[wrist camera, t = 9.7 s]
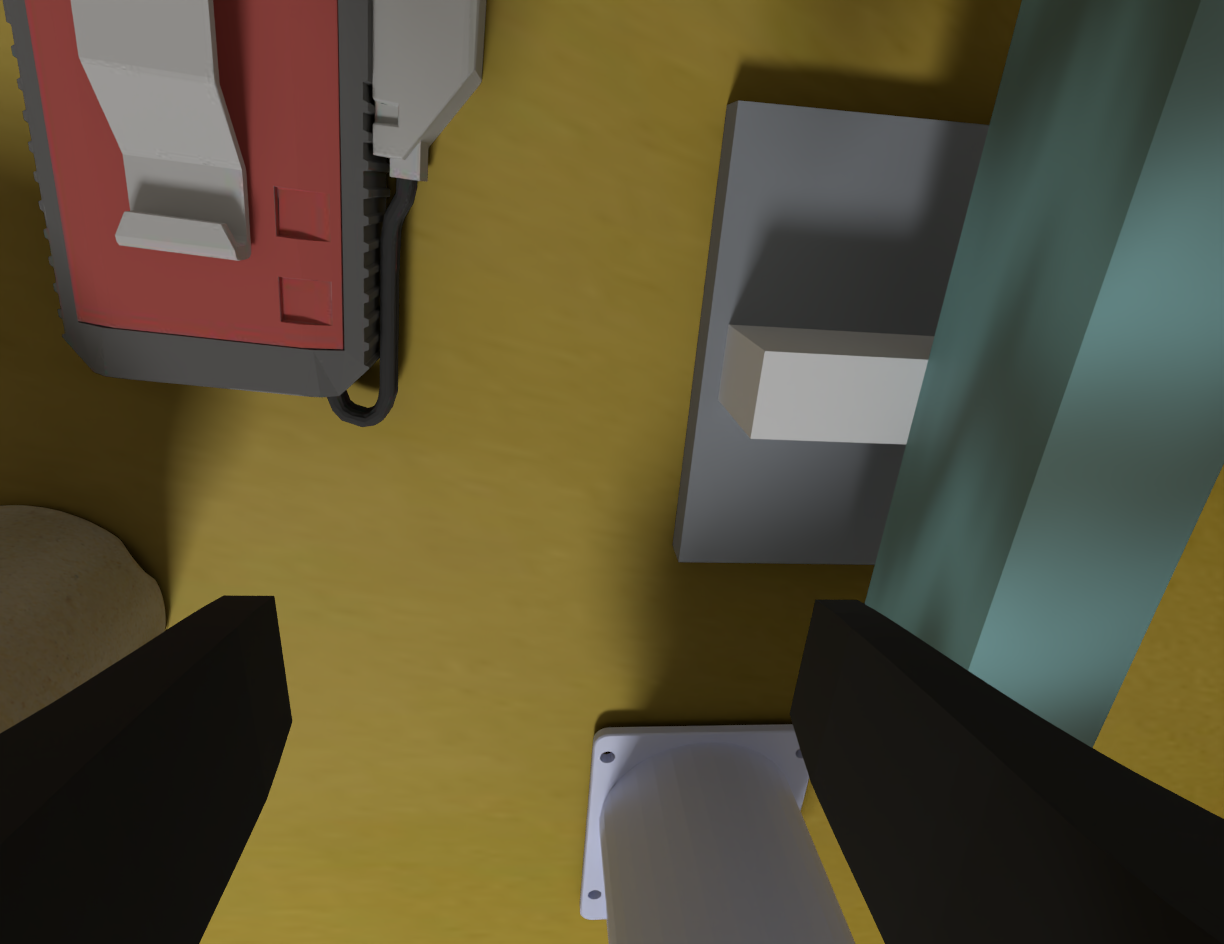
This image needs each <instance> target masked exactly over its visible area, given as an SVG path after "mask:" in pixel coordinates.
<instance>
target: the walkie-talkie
mask: <svg viewBox="0 0 1224 944" xmlns="http://www.w3.org/2000/svg"><path fill="white" fill-rule="evenodd" d="M3 4H4V10H5V16H6V21H7V22H8V23H10V24H11V26H12V32H13V38H14V43H15V44H14V45H12V46H11V49H12V54H13V56H14V57H16V58H17V60H18V66H19V71H20V78H18V79H17V82H18V88H19V89H21V90H22V91H23V95H24V101H25V106H26V110H24V111H23V116H24V120H25V121H27V122H28V123H29V129H30V134H31V140H32V141H30V142H28V145H29V150H30V151H31V152H32V153H34V158H35V164H36V169H37V171H35V172H33V173H34V179H35V181H37V182H38V183H39V186H40V192H41V198H42V200H41V201H38V202H39V207H40V210H42V211H43V212H44V215H45V220H46V226H47V228H46V229H44V235H45V238H47V239H48V240H49V244H50V250H51V255H52V256H50V257H48V258H49V263H50V265H51V266H53V267H54V272H55V278H56V283H54V284H53V286H54V291H55V292H57V293H58V295H59V301H60V307H61V309H58V314H59V317H60V318H62V319H63V324H64V330H65V334H62V337H63V338H64V339H65V341H66V342H67V343H68V344H69V345H70V346H71V347H72V348H73V350H74V351H75V352H76V353H77V354H78V355H79V356H80V357H81V358H82V360H83V361H84V362H85V363H86V364H87V365H88V366H89V367H90V368H91V370H92V371H93V372H95V373H98V374H101V375H103V376H107V377H115V378H123V379H133V380H143V381H154V382H164V383H174V384H185V385H195V386H205V387H215V388H226V389H236V390H246V391H257V392H267V393H277V394H287V395H298V396H309V397H327V399H328V401H329V403H330V406H331V408H332V410H333V411H334V413H335V414H336V415H337V416H338V417H339V418H340V419H341V420H342V421H345V422H348V423H351V424H354V425H357V426H360V427H366V426H373V425H376V424H378V423H379V422H381V421H382V420H384V418H385V417H386V416H387V414H388V413H389V411H390V410H391V408H392V407H393V404H394V401H395V398H396V395H397V392H398V339H399V269H400V247H401V230H402V225H403V222H404V219H405V216H406V215H407V213H408V211H409V210H410V208H411V206H412V205H413V203H414V199H415V194H416V190H417V181H427V178H428V148H429V147H430V145H431V144H432V143H433V142H434V140H435V139H436V138H437V137H438V135H439V134H440V133H441V132H442V131H443V129H444V128H445V127H446V126H447V124H448V123H449V122H450V121H451V119H452V118H453V117H454V116H455V114H456V113H457V112H458V111H459V110H460V108H461V107H462V106H463V105H464V103H465V102H466V101H467V100H468V98H469V97H470V96H471V95H472V94H473V92H474V91H475V90H476V89H477V87H478V86H479V85H480V83H481V82H482V66H483V49H484V32H485V16H486V0H3ZM386 158H390V164H388V163H386ZM389 172H390V177H396V178H397V182H396V193H395V195H394V197H393V199H392V201H391V202H390V204H389V206H388V208H387V210H386V197H390V189H389V188H387V187H386V173H389ZM379 358H380V389H379V396H378V400H377V402H376V404H375V405H374V406H373V407H370V408H366V407H363V406H360V405H357V404H355V403H353V402H352V401H351V400H350V398H349V395H348V393H347V389H348V388H349V387H350V386H351V385H352V384H353V383H354V382H355V381H356V380H357V379H359V378H360V377H361V376H362V375H363V374H364V373H365V372H366V371H367V370H368V369H369V368H370V367H371V366H372V365H373V364H374V363H375V362H376V361H377V360H378V359H379Z"/></svg>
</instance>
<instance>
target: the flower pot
mask: <svg viewBox="0 0 1224 944" xmlns="http://www.w3.org/2000/svg"><path fill="white" fill-rule="evenodd" d="M165 626H166V615H165V606H164V601H163V596H162V593H161V591H160V588H159V586H158V584H157V582H156V580H155V579H154V578H152V577H151V576H150V575H148V574H147V573H145V572H144V571H143V570H142V568H141V567H140V566H139V565H138V564H137V563H136V561H135V560H134V559H133V557H132V556H131V555H130V553H129V552H128V550H127V549H126V547H125V546H124V544H123V543H122V541H121V540H120V539H119V538H117V537H116V536H114V535H113V534H111V533H110V532H108V531H107V530H105V529H103V528H101V527H99V526H97V525H95V524H93V523H92V522H89V521H87V520H84V519H82V518H80V517H77V516H74V515H71V514H68V513H65V512H61V511H58V510H53V509H49V508H44V507H35V506H26V505H5V506H0V733H2V732H4V731H5V730H7V729H9V728H10V727H12V726H14V725H15V724H17V723H19V722H20V721H22V720H24V719H26V718H27V717H29V716H31V715H32V714H34V713H36V712H37V711H39V710H41V709H42V708H44V707H46V706H48V705H49V704H51V703H53V702H54V701H56V700H57V699H59V698H61V697H62V696H64V695H65V694H67V693H69V692H70V691H72V690H73V689H75V688H77V687H78V686H80V685H81V684H83V683H84V682H86V681H88V680H89V679H91V678H92V677H94V676H95V675H97V674H99V673H100V672H102V671H103V670H105V669H106V668H108V667H110V666H111V665H113V664H114V663H116V662H118V661H119V660H121V659H122V658H124V657H125V656H127V655H129V654H130V653H132V652H133V651H135V650H136V649H138V648H139V647H141V646H143V645H144V644H146V643H147V642H149V641H150V640H152V639H153V638H155V637H157V636H158V635H160V634H161V633H163V632H164V631H165Z"/></svg>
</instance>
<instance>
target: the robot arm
mask: <svg viewBox="0 0 1224 944" xmlns="http://www.w3.org/2000/svg"><path fill="white" fill-rule="evenodd" d="M790 717H791V720H792V724H780V725H719V726H659V727H608V728H603V729H601V730H599V731H598V732H597V733H596V734H595V735H594V738H593V748H592V760H591V773H590V785H589V797H588V809H587V821H586V833H585V846H584V858H583V870H582V882H581V894H580V913H581V915H582V916H583V917H584V918H586V919H590V920H596V919H607V929H608V941H609V944H855V942H854V939H853V937H852V934H851V932H850V930H849V927H848V925H847V922H846V920H845V918H844V915H843V913H842V910H841V908H840V906H839V903H838V901H837V898H836V896H835V894H834V891H833V889H832V886H831V884H830V882H829V879H828V877H827V874H826V872H825V870H824V867H823V865H822V862H821V860H820V857H819V855H818V853H817V850H816V848H815V845H814V843H813V841H812V838H811V836H810V833H809V831H808V829H807V826H806V824H805V821H804V819H803V817H802V814H801V812H800V811H801V807H802V803H803V800H804V796H805V792H806V788H807V784H808V780H809V778H810V781H811V783H812V786H813V788H814V790H815V793H816V795H817V797H818V799H819V802H820V804H821V806H822V808H823V810H824V813H825V815H826V817H827V819H828V821H829V824H830V826H831V828H832V830H833V832H834V835H835V837H836V839H837V841H838V843H839V845H840V848H841V850H842V852H843V854H844V856H845V858H846V861H847V863H848V865H849V867H850V869H851V871H852V873H853V876H854V878H855V880H856V882H857V884H858V886H859V888H860V891H861V893H862V895H863V897H864V899H865V901H866V903H867V906H868V908H869V910H870V912H871V914H872V916H873V919H874V921H875V923H876V925H877V927H878V929H879V931H880V934H881V936H882V938H883V940H884V942H885V944H1224V819H1223V818H1221V817H1219V816H1217V815H1215V814H1213V813H1211V812H1209V811H1207V810H1205V809H1203V808H1201V807H1200V806H1198V805H1196V804H1194V803H1192V802H1190V801H1188V800H1186V799H1184V798H1183V797H1181V796H1179V795H1177V794H1175V793H1173V792H1171V791H1169V790H1167V789H1166V788H1164V787H1162V786H1160V785H1158V784H1156V783H1154V782H1152V781H1150V780H1148V779H1147V778H1145V777H1143V776H1141V775H1139V774H1137V773H1135V772H1134V771H1132V770H1130V769H1128V768H1127V767H1125V766H1123V765H1121V764H1119V763H1118V762H1116V761H1114V760H1112V759H1110V758H1109V757H1107V756H1105V755H1103V754H1102V753H1100V752H1098V751H1097V750H1095V749H1093V748H1092V747H1090V746H1088V745H1087V744H1085V743H1083V742H1082V741H1080V740H1078V739H1076V738H1075V737H1073V736H1071V735H1070V734H1068V733H1066V732H1065V731H1063V730H1061V729H1060V728H1058V727H1056V726H1055V725H1053V724H1051V723H1050V722H1048V721H1046V720H1045V719H1043V718H1041V717H1040V716H1038V715H1037V714H1035V713H1033V712H1032V711H1030V710H1029V709H1027V708H1025V707H1024V706H1022V705H1021V704H1019V703H1017V702H1016V701H1014V700H1013V699H1011V698H1010V697H1008V696H1006V695H1005V694H1003V693H1002V692H1000V691H999V690H997V689H996V688H994V687H992V686H991V685H989V684H988V683H986V682H985V681H983V680H982V679H980V678H979V677H977V676H976V675H974V674H972V673H971V672H969V671H968V670H966V669H965V668H963V667H962V666H960V665H959V664H957V663H956V662H954V661H953V660H951V659H950V658H948V657H947V656H945V655H944V654H942V653H941V652H939V651H938V650H936V649H935V648H933V647H932V646H930V645H929V644H927V643H926V642H924V641H923V640H921V639H920V638H918V637H917V636H915V635H914V634H912V633H911V632H909V631H908V630H906V629H904V628H903V627H901V626H900V625H898V624H897V623H895V622H894V621H892V620H891V619H889V618H887V617H886V616H884V615H883V614H881V613H879V612H878V611H876V610H874V609H873V608H871V607H869V606H867V605H865V604H864V603H862V602H860V601H858V600H815V604H814V609H813V613H812V618H811V622H810V626H809V631H808V635H807V640H806V644H805V648H804V653H803V657H802V662H801V666H800V671H799V675H798V679H797V684H796V688H795V693H794V697H793V702H792V706H791V710H790ZM291 724H292V716H291V709H290V702H289V695H288V688H287V681H286V674H285V667H284V661H283V654H282V647H281V640H280V633H279V626H278V619H277V612H276V605H275V598H274V596H222V597H220V598H219V599H217V600H215V601H213V602H211V603H209V604H208V605H206V606H204V607H203V608H201V609H199V610H198V611H196V612H194V613H193V614H191V615H190V616H188V617H186V618H185V619H183V620H182V621H180V622H178V623H177V624H175V625H174V626H172V627H171V628H169V629H167V630H166V631H164V632H163V633H161V634H160V635H158V636H157V637H155V638H153V639H152V640H150V641H149V642H147V643H146V644H144V645H143V646H141V647H139V648H138V649H136V650H135V651H133V652H132V653H130V654H129V655H127V656H125V657H124V658H122V659H121V660H119V661H118V662H116V663H114V664H113V665H111V666H110V667H108V668H106V669H105V670H103V671H102V672H100V673H99V674H97V675H95V676H94V677H92V678H91V679H89V680H88V681H86V682H84V683H83V684H81V685H80V686H78V687H77V688H75V689H73V690H72V691H70V692H69V693H67V694H65V695H64V696H62V697H61V698H59V699H57V700H56V701H54V702H53V703H51V704H49V705H48V706H46V707H44V708H42V709H41V710H39V711H37V712H36V713H34V714H32V715H31V716H29V717H27V718H26V719H24V720H22V721H20V722H19V723H17V724H15V725H14V726H12V727H10V728H9V729H7V730H5V731H4V732H2V733H0V944H199V943H200V941H201V938H202V936H203V934H204V932H205V930H206V928H207V926H208V924H209V922H210V919H211V917H212V915H213V913H214V911H215V909H216V907H217V905H218V903H219V900H220V898H221V896H222V894H223V892H224V890H225V888H226V886H227V884H228V881H229V879H230V877H231V875H232V873H233V871H234V869H235V867H236V865H237V862H238V860H239V858H240V856H241V854H242V852H243V850H244V847H245V845H246V843H247V841H248V839H249V837H250V835H251V832H252V830H253V828H254V826H255V824H256V822H257V819H258V817H259V815H260V813H261V811H262V808H263V806H264V804H265V802H266V800H267V797H268V794H269V791H270V788H271V785H272V782H273V780H274V777H275V774H276V771H277V768H278V765H279V762H280V759H281V756H282V752H283V749H284V746H285V743H286V740H287V736H288V733H289V730H290V727H291ZM798 749H800V750H798ZM608 751H609V752H611V753H609V754H602V753H604V752H608Z"/></svg>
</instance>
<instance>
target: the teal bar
mask: <svg viewBox="0 0 1224 944" xmlns="http://www.w3.org/2000/svg"><path fill="white" fill-rule="evenodd" d="M1223 464H1224V0H1022V2H1021V6H1020V10H1019V14H1018V18H1017V21H1016V25H1015V29H1014V33H1013V37H1012V41H1011V44H1010V48H1009V52H1008V56H1007V60H1006V64H1005V67H1004V71H1003V75H1002V79H1001V83H1000V87H999V90H998V94H997V98H996V102H995V106H994V110H993V114H992V117H991V121H990V125H989V129H988V133H987V137H986V140H985V144H984V148H983V152H982V156H981V160H980V163H979V167H978V171H977V175H976V179H975V183H974V186H973V190H972V194H971V198H970V202H969V206H968V209H967V213H966V217H965V221H964V225H963V229H962V232H961V236H960V240H959V244H958V248H957V252H956V255H955V259H954V263H953V267H952V271H951V275H950V278H949V282H948V286H947V290H946V294H945V298H944V302H943V305H942V309H941V313H940V317H939V321H938V325H937V328H936V332H935V336H934V340H933V344H932V348H931V351H930V355H929V359H928V363H927V367H926V371H925V374H924V378H923V382H922V386H921V390H920V394H919V397H918V401H917V405H916V409H915V413H914V417H913V420H912V424H911V428H910V432H909V436H908V440H907V443H906V447H905V451H904V455H903V459H902V463H901V466H900V470H899V474H898V478H897V482H896V486H895V490H894V493H893V497H892V501H891V505H890V509H889V513H888V516H887V520H886V524H885V528H884V532H883V536H882V539H881V543H880V547H879V551H878V555H877V559H876V562H875V566H874V570H873V574H872V578H871V582H870V585H869V589H868V593H867V597H866V601H865V605H867V606H869V607H871V608H873V609H874V610H876V611H878V612H879V613H881V614H883V615H884V616H886V617H887V618H889V619H891V620H892V621H894V622H895V623H897V624H898V625H900V626H901V627H903V628H904V629H906V630H908V631H909V632H911V633H912V634H914V635H915V636H917V637H918V638H920V639H921V640H923V641H924V642H926V643H927V644H929V645H930V646H932V647H933V648H935V649H936V650H938V651H939V652H941V653H942V654H944V655H945V656H947V657H948V658H950V659H951V660H953V661H954V662H956V663H957V664H959V665H960V666H962V667H963V668H965V669H966V670H968V671H969V672H971V673H972V674H974V675H976V676H977V677H979V678H980V679H982V680H983V681H985V682H986V683H988V684H989V685H991V686H992V687H994V688H996V689H997V690H999V691H1000V692H1002V693H1003V694H1005V695H1006V696H1008V697H1010V698H1011V699H1013V700H1014V701H1016V702H1017V703H1019V704H1021V705H1022V706H1024V707H1025V708H1027V709H1029V710H1030V711H1032V712H1033V713H1035V714H1037V715H1038V716H1040V717H1041V718H1043V719H1045V720H1046V721H1048V722H1050V723H1051V724H1053V725H1055V726H1056V727H1058V728H1060V729H1061V730H1063V731H1065V732H1066V733H1068V734H1070V735H1071V736H1073V737H1075V738H1076V739H1078V740H1080V741H1082V742H1083V743H1085V744H1087V745H1088V746H1090V747H1093V745H1094V743H1095V741H1096V739H1097V737H1098V735H1099V732H1100V730H1101V728H1102V726H1103V724H1104V722H1105V719H1106V717H1107V715H1108V713H1109V711H1110V709H1111V706H1112V704H1113V702H1114V700H1115V698H1116V696H1117V693H1118V691H1119V689H1120V687H1121V685H1122V683H1123V680H1124V678H1125V676H1126V674H1127V672H1128V670H1129V667H1130V665H1131V663H1132V661H1133V659H1134V657H1135V654H1136V652H1137V650H1138V648H1139V646H1140V644H1141V641H1142V639H1143V637H1144V635H1145V633H1146V631H1147V629H1148V626H1149V624H1150V622H1151V620H1152V618H1153V616H1154V613H1155V611H1156V609H1157V607H1158V605H1159V603H1160V600H1161V598H1162V596H1163V594H1164V592H1165V590H1166V587H1167V585H1168V583H1169V581H1170V579H1171V577H1172V574H1173V572H1174V570H1175V568H1176V566H1177V564H1178V561H1179V559H1180V557H1181V555H1182V553H1183V551H1184V548H1185V546H1186V544H1187V542H1188V540H1189V538H1190V535H1191V533H1192V531H1193V529H1194V527H1195V525H1196V523H1197V520H1198V518H1199V516H1200V514H1201V512H1202V510H1203V507H1204V505H1205V503H1206V501H1207V499H1208V497H1209V494H1210V492H1211V490H1212V488H1213V486H1214V484H1215V481H1216V479H1217V477H1218V475H1219V473H1220V471H1221V468H1222V466H1223Z"/></svg>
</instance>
